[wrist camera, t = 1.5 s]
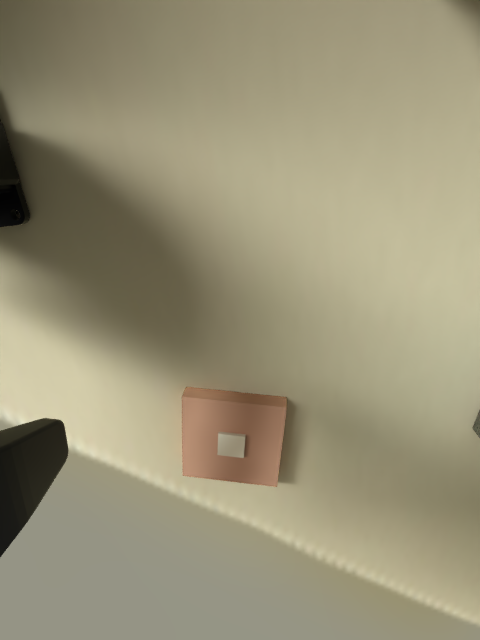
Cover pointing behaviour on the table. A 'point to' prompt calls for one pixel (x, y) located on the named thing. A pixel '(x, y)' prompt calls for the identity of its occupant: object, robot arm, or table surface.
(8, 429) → the robot arm
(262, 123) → the table surface
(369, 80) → the table surface
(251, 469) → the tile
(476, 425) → the key two base
